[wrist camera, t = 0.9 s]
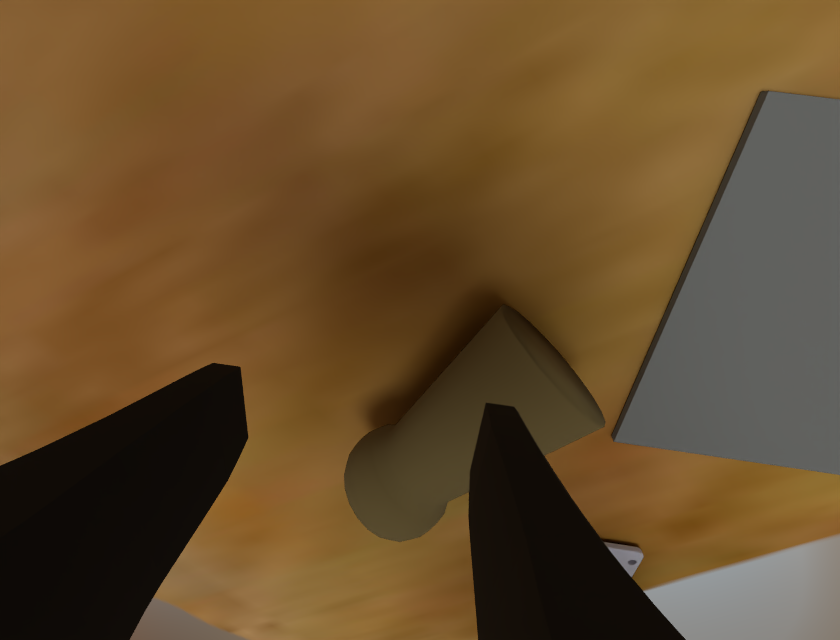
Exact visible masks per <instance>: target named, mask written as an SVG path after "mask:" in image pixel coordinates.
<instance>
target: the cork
mask: <svg viewBox="0 0 840 640" xmlns="http://www.w3.org/2000/svg"><path fill="white" fill-rule="evenodd" d="M486 403H493V404H500V405H507V406H513V407H515V408H516V410H517V411H518V412H519V414H520V416H521V418H522V419H523V421H524V423H525V425H526V426H527V428H528V430H529V431H530V433H531V435H532V437H533V438H534V440H535V442H536V443H537V445H538V447H539V448H540V450H541V451H542V453H543V455H546V454H548V453H551V452H553V451H555V450H557V449H559V448H561V447H563V446H565V445H567V444H569V443H571V442H573V441H575V440H578V439H580V438H582V437H584V436H586V435H588V434H590V433H592V432H594V431H596V430H598V429H600V428H603V427H604V425H605V419H604V417H603V414H602V412H601V410H600V408H599V406H598V405H597V403H596V401H595V400H594V398H593V396H592V395H591V394H590V392H589V391H588V389H587V388H586V386H585V385H584V383H583V382H582V381H581V379H580V378H579V377H578V376H577V374H576V373H575V372H574V370H573V369H572V368H571V367H570V365H569V364H568V363H567V362H566V361H565V359H564V358H563V357H562V356H561V355H560V353H559V352H558V351H557V350H556V349H555V348H554V347H553V346H552V345H551V343H550V342H549V341H548V340H547V339H546V338H545V337H544V336H543V335H542V334H541V333H540V332H539V331H538V330H537V329H536V328H535V327H534V326H533V325H532V324H531V323H530V322H529V321H528V320H526V319H525V318H524V317H523V316H522V315H521V314H519V313H518V312H517V311H515V310H514V309H512V308H511V307H509V306H506V305H502V306H501V307H500V309H499V310H498V311H497V312H496V313H495V314H494V315H493V316H492V318H491V319H490V320H489V321H488V322H487V323H486V324H485V325H484V326H483V328H482V329H481V330H480V331H479V332H478V333H477V334H476V335H475V337H474V338H473V339H472V340H471V341H470V342H469V343H468V344H467V346H466V347H465V348H464V349H463V350H462V351H461V352H460V353H459V354H458V356H457V357H456V358H455V359H454V360H453V361H452V362H451V363H450V365H449V366H448V367H447V368H446V369H445V370H444V371H443V372H442V374H441V375H440V376H439V377H438V378H437V379H436V380H435V381H434V382H433V384H432V385H431V386H430V387H429V388H428V389H427V390H426V391H425V393H424V394H423V395H422V396H421V397H420V398H419V399H418V400H417V402H416V403H415V404H414V405H413V406H412V407H411V408H410V409H409V410H408V412H407V413H406V414H405V415H404V416H403V417H402V418H401V419H400V421H399V422H398V423H397V424H396V425H386V426H383V427H380V428H378V429H375V430H373V431H371V432H369V433H368V434H366V435H365V436H364V437H363V438H362V439H361V440H360V441H359V442H358V443H357V444H356V446H355V447H354V448H353V450H352V451H351V453H350V454H349V457H348V461H347V465H346V469H345V473H344V482H345V491H346V494H347V498H348V501H349V504H350V506H351V507H352V509H353V511H354V513H355V515H356V516H357V518H358V519H359V520H360V521H361V522H362V524H363V525H364V526H365V527H366V528H367V529H368V530H369V531H371V532H372V533H374V534H375V535H377V536H378V537H381V538H384V539H388V540H393V541H398V542H401V541H406V540H410V539H414V538H417V537H421V536H422V535H423V534H425V533H426V532H428V531H429V530H430V529H431V528H432V527H433V526H434V525H435V524H436V523H437V522H438V521H439V520H440V518H441V517H442V516H443V515H444V512H445V509H446V506H447V503H448V502H449V501H451V500H453V499H455V498H457V497H459V496H461V495H463V494H465V493H467V492H469V481H470V468H471V464H472V460H473V455H474V451H475V447H476V442H477V438H478V434H479V430H480V425H481V421H482V417H483V412H484V408H485V404H486Z"/></svg>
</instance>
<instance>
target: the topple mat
mask: <svg viewBox="0 0 840 640" xmlns="http://www.w3.org/2000/svg"><path fill="white" fill-rule="evenodd" d="M612 439H613V441H614V442H620V443H627V444H633V445H640V446H647V447H654V448H661V449H668V450H674V451H681V452H688V453H695V454H702V455H708V456H715V457H722V458H729V459H736V460H743V461H749V462H756V463H763V464H770V465H777V466H784V467H790V468H797V469H804V470H811V471H818V472H824V473H831V474H838V475H840V100H839V99H830V98H822V97H814V96H806V95H797V94H789V93H781V92H772V91H762V92H761V93H760V95H759V98H758V100H757V102H756V105H755V107H754V109H753V111H752V114H751V116H750V118H749V121H748V123H747V125H746V128H745V130H744V132H743V134H742V137H741V139H740V141H739V144H738V146H737V148H736V151H735V153H734V155H733V157H732V160H731V162H730V164H729V167H728V169H727V171H726V174H725V176H724V178H723V181H722V183H721V185H720V187H719V190H718V192H717V194H716V197H715V199H714V201H713V204H712V206H711V208H710V210H709V213H708V215H707V217H706V220H705V222H704V224H703V227H702V229H701V231H700V233H699V236H698V238H697V240H696V243H695V245H694V247H693V250H692V252H691V254H690V256H689V259H688V261H687V263H686V266H685V268H684V270H683V273H682V275H681V277H680V279H679V282H678V284H677V286H676V289H675V291H674V293H673V296H672V298H671V300H670V303H669V305H668V307H667V309H666V312H665V314H664V316H663V319H662V321H661V323H660V326H659V328H658V330H657V332H656V335H655V337H654V339H653V342H652V344H651V346H650V349H649V351H648V353H647V355H646V358H645V360H644V362H643V365H642V367H641V369H640V372H639V374H638V376H637V378H636V381H635V383H634V385H633V388H632V390H631V392H630V395H629V397H628V399H627V401H626V404H625V406H624V408H623V411H622V413H621V415H620V418H619V420H618V422H617V425H616V427H615V429H614V431H613V434H612Z"/></svg>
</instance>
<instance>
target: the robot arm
mask: <svg viewBox="0 0 840 640" xmlns="http://www.w3.org/2000/svg"><path fill="white" fill-rule="evenodd" d="M247 439H248V431H247V422H246V413H245V404H244V395H243V386H242V377H241V368H240V367H238V366H231V365H224V364H217V363H212V364H210V365H207V366H205V367H203V368H201V369H199V370H197V371H195V372H193V373H191V374H189V375H187V376H185V377H183V378H181V379H179V380H177V381H175V382H173V383H171V384H169V385H167V386H165V387H163V388H162V389H160V390H158V391H156V392H154V393H152V394H150V395H148V396H146V397H144V398H142V399H140V400H138V401H136V402H134V403H132V404H131V405H129V406H127V407H125V408H123V409H121V410H119V411H117V412H115V413H113V414H111V415H109V416H107V417H105V418H103V419H101V420H99V421H97V422H95V423H92V424H90V425H88V426H86V427H84V428H82V429H80V430H78V431H76V432H74V433H71V434H69V435H67V436H65V437H63V438H61V439H59V440H57V441H55V442H52V443H50V444H48V445H46V446H44V447H42V448H40V449H38V450H35V451H33V452H31V453H29V454H26V455H24V456H22V457H20V458H17V459H15V460H13V461H10V462H8V463H6V464H3V465H1V466H0V640H130V638H131V636H132V634H133V632H134V630H135V629H136V627H137V625H138V623H139V621H140V619H141V617H142V616H143V614H144V612H145V610H146V608H147V606H148V605H149V603H150V602H151V600H152V598H153V597H154V595H155V593H156V592H157V590H158V588H159V587H160V585H161V583H162V582H163V580H164V579H165V577H166V576H167V574H168V573H169V571H170V570H171V568H172V566H173V565H174V563H175V562H176V560H177V559H178V557H179V556H180V554H181V553H182V551H183V549H184V548H185V546H186V545H187V543H188V542H189V540H190V539H191V537H192V536H193V534H194V533H195V531H196V529H197V528H198V526H199V525H200V523H201V522H202V520H203V519H204V517H205V516H206V514H207V512H208V511H209V509H210V508H211V506H212V505H213V503H214V501H215V500H216V498H217V497H218V495H219V494H220V492H221V490H222V489H223V487H224V486H225V484H226V482H227V481H228V479H229V477H230V475H231V473H232V471H233V469H234V467H235V465H236V463H237V461H238V459H239V457H240V455H241V452H242V450H243V448H244V446H245V444H246V442H247ZM469 530H470V543H471V556H472V568H473V580H474V593H475V605H476V617H477V630H478V640H686V639H685V638H684V637H683V636H682V635H681V634H680V633H679V632H678V631H677V630H676V629H675V627H674V626H673V625H672V624H671V623H670V622H669V621H668V620H667V618H666V617H665V616H664V615H663V614H662V613H661V612H660V611H659V610H658V608H657V607H656V606H655V605H654V604H653V602H652V601H651V600H650V599H649V598H648V597H647V595H646V594H645V593H644V592H643V591H642V589H641V588H640V587H639V586H638V585H637V583H636V582H635V581H634V580H633V579H632V576H633V574H634V573H635V571H636V569H637V567H638V566H639V564H640V562H641V561H642V559H643V553H642V551H641V549H640V548H638V547H634V546H627V545H621V544H614V543H608V542H603V541H602V539H601V538H600V537H599V535H598V534H597V533H596V531H595V530H594V529H593V527H592V526H591V524H590V523H589V522H588V520H587V519H586V518H585V516H584V515H583V514H582V512H581V511H580V509H579V508H578V506H577V505H576V504H575V502H574V501H573V499H572V498H571V496H570V495H569V493H568V492H567V490H566V489H565V487H564V486H563V484H562V483H561V481H560V480H559V478H558V477H557V475H556V474H555V472H554V471H553V469H552V468H551V466H550V464H549V463H548V461H547V460H546V458H545V456H544V455H543V453H542V451H541V450H540V448H539V447H538V445H537V443H536V442H535V440H534V438H533V437H532V435H531V433H530V431H529V430H528V428H527V426H526V425H525V423H524V421H523V419H522V418H521V416H520V414H519V412H518V411H517V410H516V408H515V407H513V406H507V405H500V404H493V403H486V404H485V408H484V412H483V417H482V421H481V425H480V430H479V434H478V438H477V442H476V447H475V451H474V455H473V460H472V464H471V468H470V481H469Z"/></svg>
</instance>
